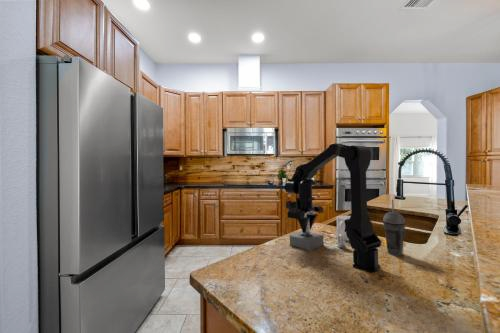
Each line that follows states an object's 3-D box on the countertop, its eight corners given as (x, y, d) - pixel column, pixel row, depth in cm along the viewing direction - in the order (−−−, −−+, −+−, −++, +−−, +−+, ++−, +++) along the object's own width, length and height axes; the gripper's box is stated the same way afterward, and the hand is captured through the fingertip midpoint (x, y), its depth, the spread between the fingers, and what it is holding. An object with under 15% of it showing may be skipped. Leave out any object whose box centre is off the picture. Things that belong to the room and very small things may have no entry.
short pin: (347, 247, 93) (346, 235, 93) (343, 249, 91) (343, 236, 91) (339, 245, 95) (339, 233, 95) (336, 247, 93) (336, 235, 93)
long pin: (311, 241, 97) (310, 217, 97) (307, 242, 95) (306, 218, 95) (305, 239, 99) (304, 216, 99) (301, 241, 97) (300, 217, 97)
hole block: (323, 244, 97) (323, 235, 97) (310, 250, 90) (310, 240, 90) (303, 239, 104) (303, 230, 104) (289, 244, 97) (289, 235, 97)
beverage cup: (385, 255, 83) (383, 200, 83) (382, 249, 90) (380, 198, 90) (408, 258, 80) (407, 201, 81) (403, 251, 87) (402, 198, 87)
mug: (346, 234, 111) (345, 214, 111) (363, 239, 103) (362, 218, 103) (328, 238, 105) (327, 217, 105) (344, 243, 97) (343, 221, 97)
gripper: (302, 192, 109) (303, 224, 109) (276, 196, 97) (277, 232, 97) (323, 193, 101) (324, 228, 101) (298, 198, 88) (299, 238, 88)
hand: (306, 231), depth 97 cm, fingers closed on long pin, 3 cm apart
